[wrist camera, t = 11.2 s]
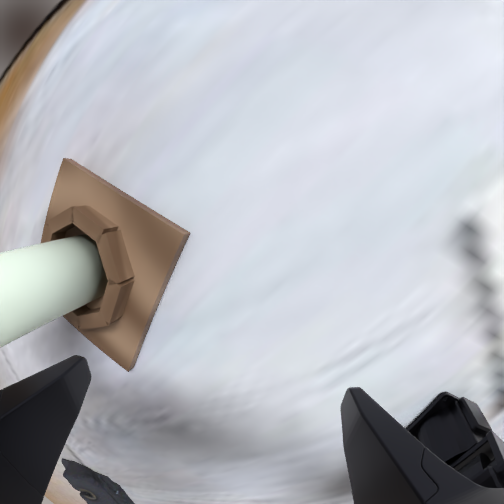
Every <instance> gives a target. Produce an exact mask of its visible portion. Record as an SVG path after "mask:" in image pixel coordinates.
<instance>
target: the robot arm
mask: <svg viewBox="0 0 504 504" xmlns="http://www.w3.org/2000/svg"><path fill="white" fill-rule="evenodd" d="M90 381H91V373H90V370H89V366H88V363H87V360H86V359H85V358H84V357H81V356H78V355H74V356H72V357H70V358H68V359H66V360H64V361H62V362H60V363H57V364H55V365H53V366H51V367H49V368H47V369H45V370H43V371H40V372H38V373H36V374H34V375H32V376H30V377H28V378H25V379H23V380H21V381H19V382H17V383H15V384H12V385H10V386H8V387H6V388H4V389H3V390H2V389H1V390H0V504H41V503H42V501H43V498H44V497H43V496H44V495H45V492H46V489H47V487H48V484H49V481H50V479H51V476H52V474H53V471H54V469H55V466H56V464H57V461H58V459H59V457H60V454H61V452H62V450H63V447H64V445H65V443H66V440H67V438H68V436H69V434H70V432H71V429H72V427H73V425H74V423H75V421H76V419H77V416H78V414H79V412H80V409H81V406H82V403H83V401H84V398H85V395H86V392H87V389H88V387H89V384H90ZM444 397H445V398H444ZM443 398H444V399H443ZM341 419H342V432H343V445H344V452H345V457H346V462H347V467H348V472H349V478H350V483H351V489H352V494H353V500H354V504H504V442H503V441H502V440H501V439H500V438H499V437H498V436H497V435H496V434H495V433H494V432H493V431H492V429H491V427H490V425H489V424H488V422H487V420H486V418H485V417H484V415H483V413H482V412H481V410H480V408H479V407H478V405H477V404H476V403H474V402H472V401H470V400H468V399H466V398H464V397H461V398H458V397H456V396H454V395H452V394H450V393H448V392H443V393H442V394H441V395H440V396H439V397H438V398H437V399H436V400H435V401H434V402H433V403H432V404H431V405H430V406H429V407H428V408H427V409H426V410H425V412H424V413H423V414H422V415H421V416H420V417H419V418H418V419H417V420H415V421H414V422H413V423H412V424H411V425H410V426H409V427H408V428H407V429H405V428H404V427H403V426H402V425H401V424H400V423H398V422H397V421H396V420H395V419H394V418H393V417H392V416H391V415H390V414H389V413H387V412H386V411H385V410H384V409H383V408H382V407H381V406H380V405H379V404H378V403H377V402H375V401H374V400H373V399H372V398H371V397H370V396H369V395H368V394H367V393H366V392H365V391H364V390H362V389H361V388H360V387H350V388H348V389H347V391H346V393H345V396H344V398H343V401H342V404H341Z"/></svg>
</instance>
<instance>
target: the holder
mask: <svg viewBox="0 0 504 504" xmlns="http://www.w3.org/2000/svg"><path fill="white" fill-rule="evenodd" d="M83 234H86V235H88V236H89V237H91V238H92V239H93V240H95V241H96V243H97V247H98V250H99V254H100V257H101V261H102V264H103V267H104V270H105V273H106V277H107V280H108V283H107V286H106V290H105V293H104V295H103V296H101V297H99V298H97V299H95V300H93V301H91V302H89V303H87V304H85V305H83V306H81V307H79V308H77V309H75V310H73V311H71V312H69V313H67V314H65V315H63V317H64V318H66V319H67V320H68V321H69V322H70V323H71V324H72V325H73V326H74V327H75V328H76V329H77V330H78V331H79V332H81V333H82V334H83V335H84V336H85V337H86V338H87V339H89V340H90V341H91V342H92V343H93V344H94V345H95V346H97V347H98V348H99V349H100V350H101V351H103V352H104V353H105V354H106V355H107V356H109V357H110V358H111V359H112V360H114V361H115V362H116V363H118V364H119V365H120V366H121V367H123V368H124V369H125V370H127V371H128V372H129V371H130V370H131V369H132V368H133V367H134V365H135V363H136V360H137V357H138V355H139V352H140V349H141V347H142V344H143V342H144V339H145V337H146V334H147V332H148V329H149V327H150V324H151V322H152V319H153V317H154V314H155V312H156V309H157V307H158V305H159V302H160V300H161V297H162V295H163V293H164V290H165V288H166V286H167V283H168V281H169V279H170V277H171V274H172V272H173V270H174V268H175V265H176V263H177V261H178V259H179V256H180V254H181V252H182V250H183V248H184V246H185V243H186V241H187V239H188V237H189V235H190V232H188V231H186V230H185V229H183V228H181V227H180V226H178V225H177V224H175V223H173V222H172V221H170V220H168V219H167V218H165V217H163V216H162V215H160V214H159V213H157V212H155V211H154V210H152V209H150V208H149V207H147V206H146V205H144V204H142V203H141V202H139V201H137V200H136V199H134V198H133V197H131V196H129V195H128V194H126V193H124V192H123V191H121V190H120V189H118V188H116V187H115V186H113V185H112V184H110V183H108V182H107V181H105V180H104V179H102V178H100V177H99V176H97V175H96V174H94V173H93V172H91V171H89V170H88V169H86V168H85V167H83V166H81V165H80V164H78V163H77V162H75V161H74V160H72V159H66V158H63V161H62V164H61V167H60V170H59V173H58V176H57V179H56V183H55V186H54V190H53V193H52V197H51V200H50V204H49V208H48V212H47V216H46V220H45V225H44V229H43V234H42V239H41V243H45V242H49V241H54V240H59V239H63V238H68V237H73V236H78V235H83Z"/></svg>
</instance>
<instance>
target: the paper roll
mask: <svg viewBox="0 0 504 504" xmlns="http://www.w3.org/2000/svg"><path fill="white" fill-rule="evenodd" d="M107 283H108V280H107V277H106V273H105V270H104V267H103V264H102V261H101V257H100V254H99V250H98V247H97V243H96V241H95V240H93V239H92V238H91V237H89V236H88V235H86V234H83V235H78V236H73V237H68V238H63V239H59V240H54V241H49V242H45V243H40V244H36V245H32V246H27V247H23V248H19V249H15V250H10V251H6V252H2V253H0V348H1V347H3V346H4V345H6V344H8V343H10V342H12V341H14V340H16V339H18V338H20V337H22V336H24V335H26V334H28V333H29V332H31V331H33V330H35V329H37V328H39V327H41V326H43V325H45V324H47V323H49V322H51V321H53V320H55V319H57V318H59V317H61V316H63V315H65V314H67V313H69V312H71V311H73V310H75V309H77V308H79V307H81V306H83V305H85V304H87V303H89V302H91V301H93V300H95V299H97V298H99V297H101V296H103V295H104V293H105V290H106V286H107Z"/></svg>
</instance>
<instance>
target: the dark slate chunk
mask: <svg viewBox="0 0 504 504" xmlns="http://www.w3.org/2000/svg"><path fill="white" fill-rule="evenodd" d="M62 464H63V465H64V467H65V469H66V470H65V471H64V473H63V476H64V477H65V478H66V479H67V480H68V482H69V483H70V484H71V485H72V486H73V488H75V489H76V490H78V491H81V493H80V495H81V497H82V498H83V499H84V500H85V501H86V502H87V504H134V502H133V501H132V500H131V499H130V498H129V497H128V495H127V494H126V493H125V491H124V490H123V489H122V488H121V487H120V485H118V484H117V483H114V482H113V481H112V480H111V479H110V478H109V477H107V476H104V475H102V474H99V473H97V472H94V471H93V470H91V469H90V468H88V467H86V466H84V465H81V464H79V463H77V462H74V461H69V460H67V461H66V460H64V459H62Z"/></svg>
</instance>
